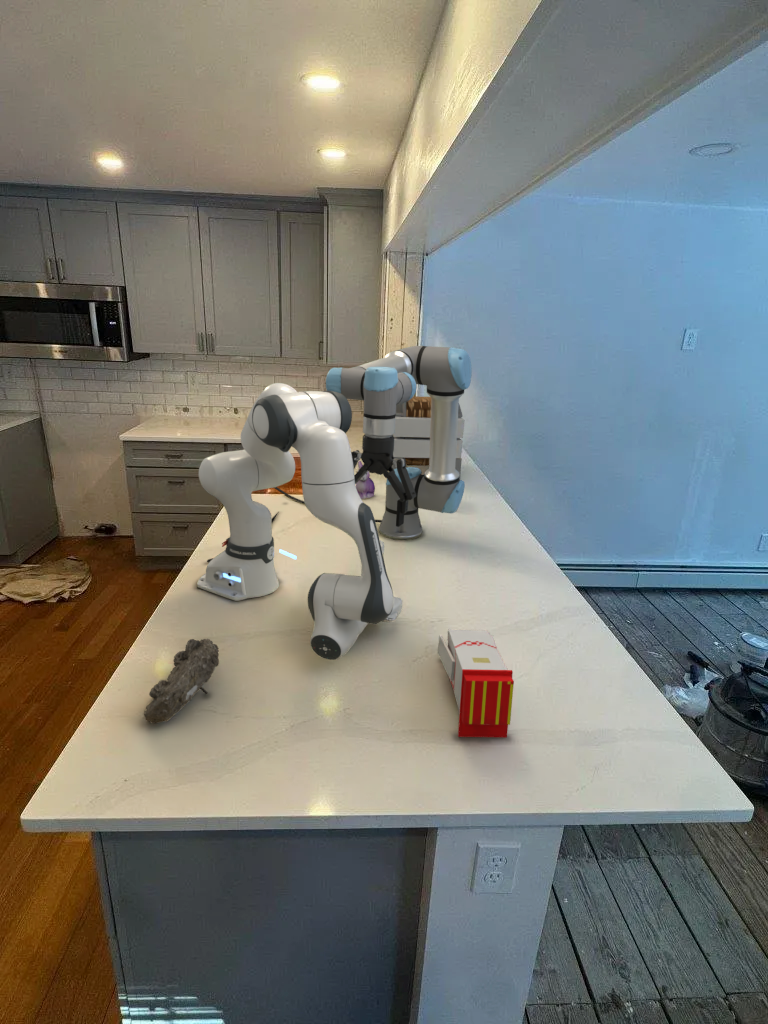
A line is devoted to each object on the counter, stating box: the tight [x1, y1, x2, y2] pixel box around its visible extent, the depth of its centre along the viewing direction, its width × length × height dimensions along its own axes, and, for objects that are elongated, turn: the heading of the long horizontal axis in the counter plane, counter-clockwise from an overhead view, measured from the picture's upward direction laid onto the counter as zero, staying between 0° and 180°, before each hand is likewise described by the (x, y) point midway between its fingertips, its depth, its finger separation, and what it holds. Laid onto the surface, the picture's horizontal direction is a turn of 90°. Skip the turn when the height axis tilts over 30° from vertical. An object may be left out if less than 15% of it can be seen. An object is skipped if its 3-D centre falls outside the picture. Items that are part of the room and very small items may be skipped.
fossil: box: [144, 638, 220, 724], centre depth 113 cm, size 22×10×15 cm
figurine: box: [355, 460, 376, 500], centre depth 236 cm, size 9×10×15 cm
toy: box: [437, 628, 515, 738], centre depth 117 cm, size 12×13×30 cm
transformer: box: [392, 395, 465, 480], centre depth 268 cm, size 34×33×41 cm
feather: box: [272, 512, 279, 524], centre depth 212 cm, size 2×28×2 cm
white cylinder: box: [379, 539, 385, 555], centre depth 143 cm, size 6×6×2 cm
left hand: (371, 588), depth 147 cm, fingers open, 8 cm apart
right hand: (375, 519), depth 140 cm, fingers open, 13 cm apart
